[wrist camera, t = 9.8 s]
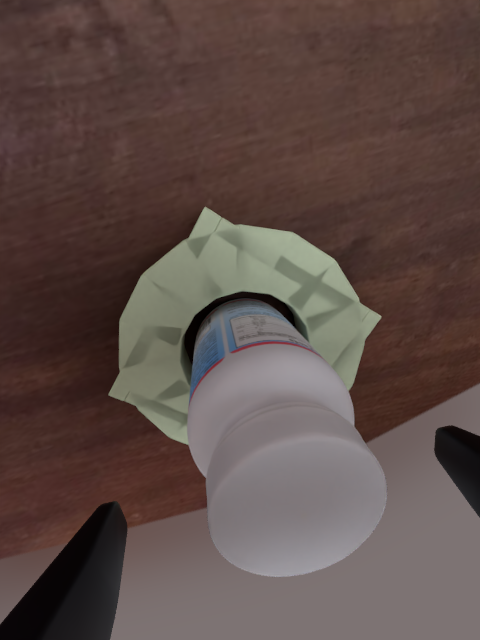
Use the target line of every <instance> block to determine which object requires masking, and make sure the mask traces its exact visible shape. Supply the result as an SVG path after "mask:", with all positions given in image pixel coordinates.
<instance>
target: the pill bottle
mask: <svg viewBox="0 0 480 640" xmlns="http://www.w3.org/2000/svg"><path fill="white" fill-rule="evenodd" d="M187 422H188V423H187V436H188V443H189V448H190V452H191V454H192V457H193V459H194V461H195V463H196V465H197V467H198V468H199V470H200V471H201V473H202V474H203V475H204V476H205V478H206V493H207V517H208V528H209V533H210V536H211V539H212V541H213V543H214V545H215V546H216V548H217V550H218V551H219V552H220V554H221V555H222V556H223V557H224V558H225V559H226V560H228V561H229V562H230V563H232V564H233V565H235V566H237V567H238V568H240V569H243V570H246V571H248V572H251V573H255V574H258V575H265V576H272V577H285V576H295V575H301V574H307V573H310V572H313V571H317V570H320V569H323V568H325V567H328V566H330V565H332V564H334V563H336V562H338V561H340V560H342V559H343V558H345V557H346V556H348V555H349V554H351V553H352V552H353V551H354V550H356V549H357V548H358V547H359V546H360V545H361V544H362V543H363V542H364V541H365V540H366V539H367V538H368V537H369V536H370V534H371V533H372V532H373V531H374V529H375V528H376V526H377V525H378V523H379V521H380V519H381V517H382V515H383V512H384V509H385V505H386V500H387V484H386V478H385V475H384V473H383V470H382V468H381V466H380V464H379V462H378V460H377V459H376V457H375V456H374V454H373V453H372V452H371V450H370V449H369V448H368V446H367V445H366V443H365V442H364V441H363V439H362V437H361V435H360V434H359V432H358V431H357V429H356V428H355V427H354V410H353V404H352V401H351V397H350V394H349V392H348V390H347V388H346V386H345V384H344V382H343V381H342V379H341V378H340V377H339V375H338V374H337V373H336V372H335V371H334V369H333V368H332V367H331V366H330V365H329V364H328V363H327V361H326V360H325V359H324V358H323V357H322V356H321V355H320V354H319V353H318V352H317V351H316V350H315V349H314V348H313V347H312V346H311V345H310V344H309V342H308V341H307V340H306V339H305V338H304V337H303V336H302V335H301V334H300V333H299V332H298V331H297V330H296V329H295V328H294V327H293V326H292V324H291V323H290V322H289V321H288V320H287V319H286V318H285V317H284V316H283V315H282V314H281V313H280V312H279V311H278V310H276V309H275V308H274V307H272V306H271V305H269V304H267V303H265V302H263V301H260V300H256V299H249V298H242V299H235V300H231V301H228V302H226V303H223V304H221V305H220V306H218V307H216V308H215V309H214V310H212V311H211V312H210V313H209V314H208V315H207V316H206V318H205V319H204V320H203V322H202V323H201V325H200V327H199V329H198V332H197V335H196V340H195V346H194V357H193V366H192V377H191V387H190V397H189V407H188V419H187Z"/></svg>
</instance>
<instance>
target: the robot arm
mask: <svg viewBox="0 0 480 640" xmlns="http://www.w3.org/2000/svg"><path fill="white" fill-rule="evenodd" d="M434 451H435V455H436V457H437V459H438V461H439V462H440V464H441V465H442V466H443V468H444V469H445V470H446V472H447V473H448V475H449V476H450V477H451V479H452V480H453V482H454V483H455V484H456V486H457V487H458V489H459V490H460V491H461V493H462V494H463V495H464V497H465V498H466V500H467V501H468V502H469V504H470V505H471V506H472V508H473V509H474V511H475V512H476V513H477V515H478V516H479V517H480V436H478V435H475V434H473V433H471V432H468V431H466V430H463V429H460V428H458V427H455V426H445V427H441V428H438V429H437V430H436V435H435V448H434ZM126 537H127V522H126V519H125V517H124V515H123V512H122V510H121V508H120V505H119V503H118V502H116V501H113V502H109V503H104V504H102V505H100V506H99V507H98V508H97V509H96V510H95V511H94V513H93V514H92V515H91V516H90V517H89V519H88V520H87V521H86V522H85V523H84V525H83V526H82V527H81V528H80V529H79V531H78V532H77V533H76V534H75V535H74V537H73V538H72V539H71V540H70V541H69V543H68V544H67V545H66V546H65V547H64V549H63V550H62V551H61V553H59V555H58V556H57V557H56V558H55V559H54V561H53V562H52V563H51V564H50V565H49V567H48V568H47V569H46V570H45V571H44V573H43V574H42V575H41V576H40V577H39V579H38V580H37V581H36V582H35V583H34V585H33V586H32V587H31V588H30V590H29V591H28V592H27V593H26V594H25V595H24V597H23V598H22V599H21V600H20V601H19V603H18V604H17V605H16V606H15V607H14V609H13V610H12V611H11V612H10V613H9V615H8V616H7V617H6V618H5V619H4V621H3V622H2V623H1V624H0V640H110V637H111V632H112V628H113V623H114V619H115V614H116V608H117V603H118V597H119V590H120V582H121V575H122V567H123V560H124V552H125V545H126Z"/></svg>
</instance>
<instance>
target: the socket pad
mask: <svg viewBox="0 0 480 640" xmlns="http://www.w3.org/2000/svg"><path fill="white" fill-rule="evenodd" d="M241 291H245V292H254V293H263V294H270V295H272V296H273V297H275V298H277V299H279V300H280V301H282V302H284V303H285V304H286V305H287V306H288V308H289V309H290V311H291V312H292V313H293V316H294V321H295V326H296V330H297V331H298V332H299V333H300V334H301V335H302V336H303V337H304V338H305V339H306V340H307V341H308V342H309V344H310V345H311V346H312V347H313V348H314V349H315V350H316V351H317V352H318V353H319V354H320V355H321V356H322V357H323V358H324V359H325V360H326V361H327V363H328V364H329V365H330V366H331V367H332V368H333V369H334V371H335V372H336V373H337V374H338V375H339V377H340V378H341V379H342V381H343V382H344V384H345V386H346V388H347V390H348V391H349V390H350V388H351V387H352V386H353V383H354V380H355V376H356V373H357V369H358V366H359V362H360V359H361V355H362V352H363V348H364V343H365V339H366V338H367V336H368V335H369V334H370V332H371V331H372V330H373V328H374V327H375V325H376V324H377V323H378V321H379V320H380V319H381V316H380V315H379V314H377V313H375V312H374V311H372V310H370V309H369V308H367V307H366V306H364V305H362V304H361V303H360V301H359V298H358V296H357V295H356V293H355V291H354V290H353V288H352V286H351V285H350V283H349V282H348V280H347V278H346V277H345V275H344V273H343V272H342V270H341V269H340V267H339V265H338V264H337V262H336V261H335V260H334V259H333V258H332V257H330V256H329V255H327V254H326V253H324V252H322V251H321V250H319V249H318V248H316V247H315V246H313V245H312V244H310V243H309V242H307V241H306V240H304V239H303V238H301V237H299V236H298V235H296V234H295V233H293V232H289V231H282V230H275V229H268V228H262V227H255V226H248V225H242V224H239V225H234V224H232V223H231V222H229V221H227V220H226V219H224V218H221V216H219V215H218V214H216V213H215V212H213V211H211V210H210V209H208V208H206V207H204V209H203V211H202V213H201V215H200V217H199V218H198V220H197V222H196V224H195V226H194V228H193V230H192V232H191V234H190V236H189V238H187V239H185V240H183V241H182V242H180V243H179V244H178V245H177V246H175V247H174V248H173V249H172V250H171V251H169V252H168V253H167V254H166V255H165V256H163V257H162V258H161V259H160V260H158V261H157V262H156V263H155V264H154V265H152V266H151V267H150V268H149V269H147V270H146V271H145V272H144V273H143V274H142V275H141V277H140V279H139V281H138V283H137V285H136V287H135V289H134V291H133V293H132V295H131V297H130V299H129V301H128V303H127V305H126V307H125V309H124V312H123V314H122V316H121V318H120V321H119V370H120V373H119V375H118V377H117V378H116V380H115V382H114V384H113V386H112V388H111V390H110V392H109V394H108V395H109V396H111V397H114V398H116V399H119V400H122V401H124V400H125V402H127V403H130V404H132V405H135V406H136V407H137V409H138V410H139V411H140V412H141V413H142V414H143V415H145V416H146V417H147V418H148V419H149V420H150V421H151V422H152V423H154V424H155V425H156V426H157V427H158V428H159V429H160V430H161V431H162V432H164V433H165V434H166V435H167V436H168V437H169V438H171V439H174V440H176V441H179V442H182V443H184V444H187V445H189V443H188V436H187V423H188V422H187V419H188V407H189V397H190V387H191V377H192V366H193V365H192V364H191V362H190V359H189V357H188V354H187V351H186V348H185V345H184V342H185V332H186V330H187V329H188V327H189V325H190V323H191V321H192V320H193V318H194V316H195V315H196V314H197V313H198V312H200V311H201V310H202V309H203V308H205V307H206V306H207V305H209V304H210V303H211V302H212V301H214V300H215V299H216V298H220V297H224V296H227V295H231V294H234V293H238V292H241Z"/></svg>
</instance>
